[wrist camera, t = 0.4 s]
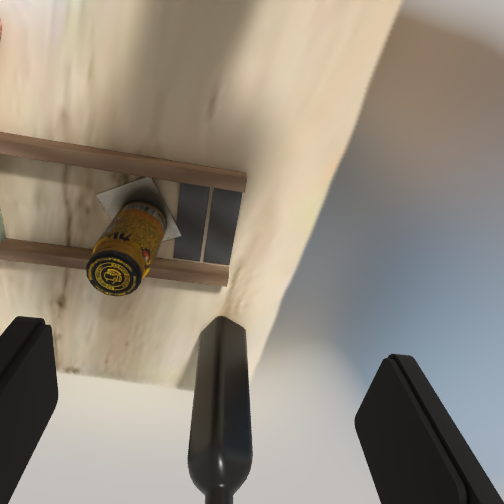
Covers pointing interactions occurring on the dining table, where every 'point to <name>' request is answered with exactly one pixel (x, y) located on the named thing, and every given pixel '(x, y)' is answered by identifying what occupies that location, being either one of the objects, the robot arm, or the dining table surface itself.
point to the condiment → (129, 237)
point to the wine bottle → (221, 413)
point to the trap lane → (189, 175)
